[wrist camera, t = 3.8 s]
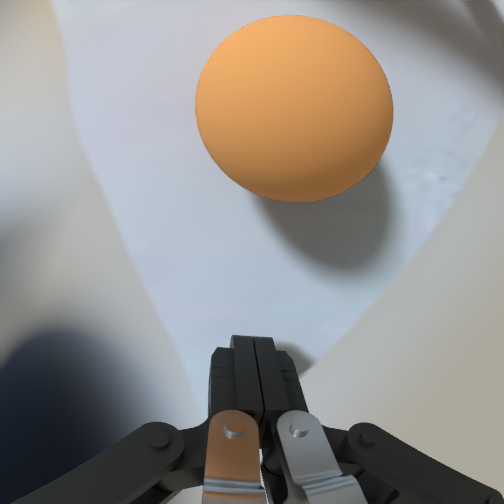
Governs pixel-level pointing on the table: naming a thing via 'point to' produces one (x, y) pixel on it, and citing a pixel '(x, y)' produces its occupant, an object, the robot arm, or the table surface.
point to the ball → (294, 108)
